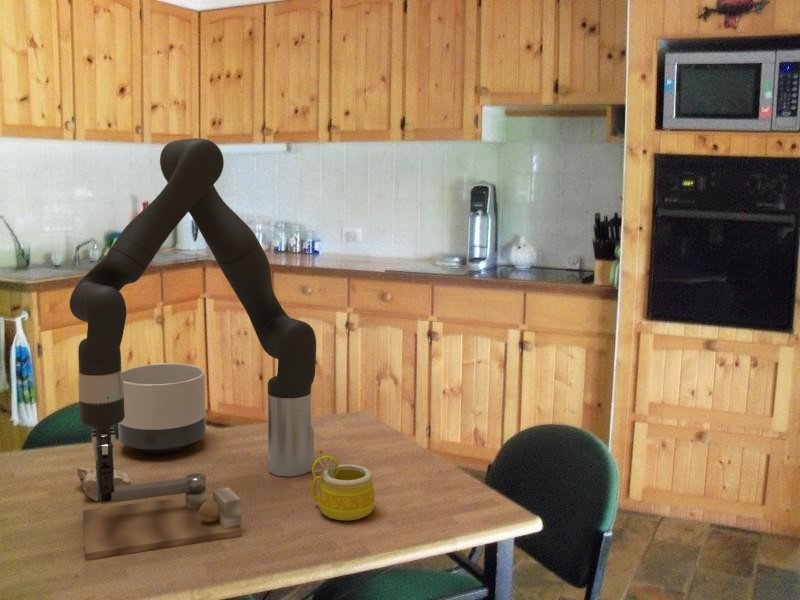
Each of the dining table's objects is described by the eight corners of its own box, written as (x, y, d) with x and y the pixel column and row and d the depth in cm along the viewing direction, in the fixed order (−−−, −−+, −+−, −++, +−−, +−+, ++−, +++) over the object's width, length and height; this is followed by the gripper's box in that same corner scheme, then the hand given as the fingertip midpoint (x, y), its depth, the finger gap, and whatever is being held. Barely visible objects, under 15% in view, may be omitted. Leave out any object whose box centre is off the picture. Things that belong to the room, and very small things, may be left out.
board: (224, 497, 161) (224, 467, 160) (243, 535, 144) (242, 502, 143) (83, 516, 151) (81, 484, 150) (85, 560, 134) (83, 525, 133)
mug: (383, 505, 158) (384, 446, 156) (362, 528, 148) (363, 466, 146) (323, 495, 162) (323, 438, 160) (299, 517, 152) (299, 456, 150)
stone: (85, 505, 156) (84, 481, 155) (76, 484, 166) (75, 461, 165) (133, 497, 160) (132, 473, 159) (122, 477, 170) (121, 455, 169)
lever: (204, 484, 155) (203, 442, 154) (207, 491, 152) (206, 448, 151) (97, 498, 148) (95, 453, 147) (97, 506, 145) (95, 460, 143)
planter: (103, 459, 179) (100, 382, 176) (142, 431, 198) (140, 361, 195) (186, 465, 177) (184, 386, 174) (218, 436, 196) (216, 365, 193)
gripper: (126, 404, 138) (130, 499, 141) (121, 383, 151) (124, 470, 154) (79, 409, 136) (84, 505, 139) (78, 386, 149) (82, 475, 152)
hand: (105, 486), depth 146 cm, fingers open, 4 cm apart
